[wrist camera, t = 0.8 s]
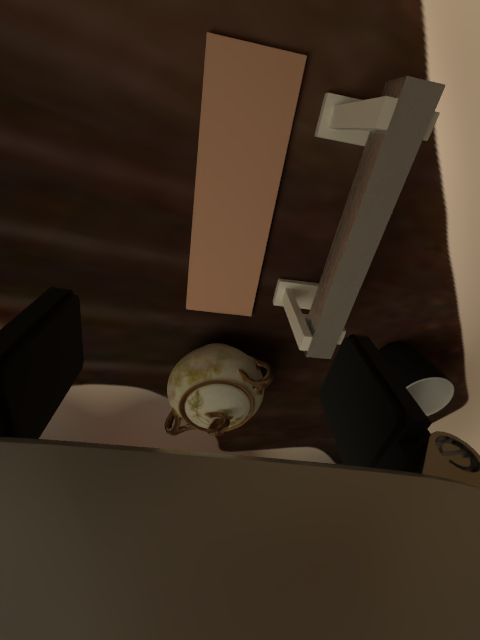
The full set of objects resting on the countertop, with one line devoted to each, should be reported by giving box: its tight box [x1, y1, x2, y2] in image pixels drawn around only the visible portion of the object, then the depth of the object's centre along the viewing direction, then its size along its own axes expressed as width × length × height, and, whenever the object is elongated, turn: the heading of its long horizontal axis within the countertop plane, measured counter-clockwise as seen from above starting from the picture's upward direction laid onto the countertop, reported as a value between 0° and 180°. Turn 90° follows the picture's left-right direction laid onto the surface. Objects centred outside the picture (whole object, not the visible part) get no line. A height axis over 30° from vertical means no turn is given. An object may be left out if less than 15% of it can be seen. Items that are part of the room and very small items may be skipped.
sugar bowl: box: [165, 343, 274, 436], centre depth 46 cm, size 20×15×15 cm
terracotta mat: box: [186, 32, 307, 316], centre depth 38 cm, size 31×10×1 cm, turn 171°
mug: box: [379, 343, 454, 416], centre depth 50 cm, size 12×9×10 cm
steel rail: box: [304, 76, 445, 359], centre depth 31 cm, size 27×3×3 cm, turn 171°
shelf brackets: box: [273, 93, 439, 351], centre depth 34 cm, size 26×8×13 cm, turn 171°
